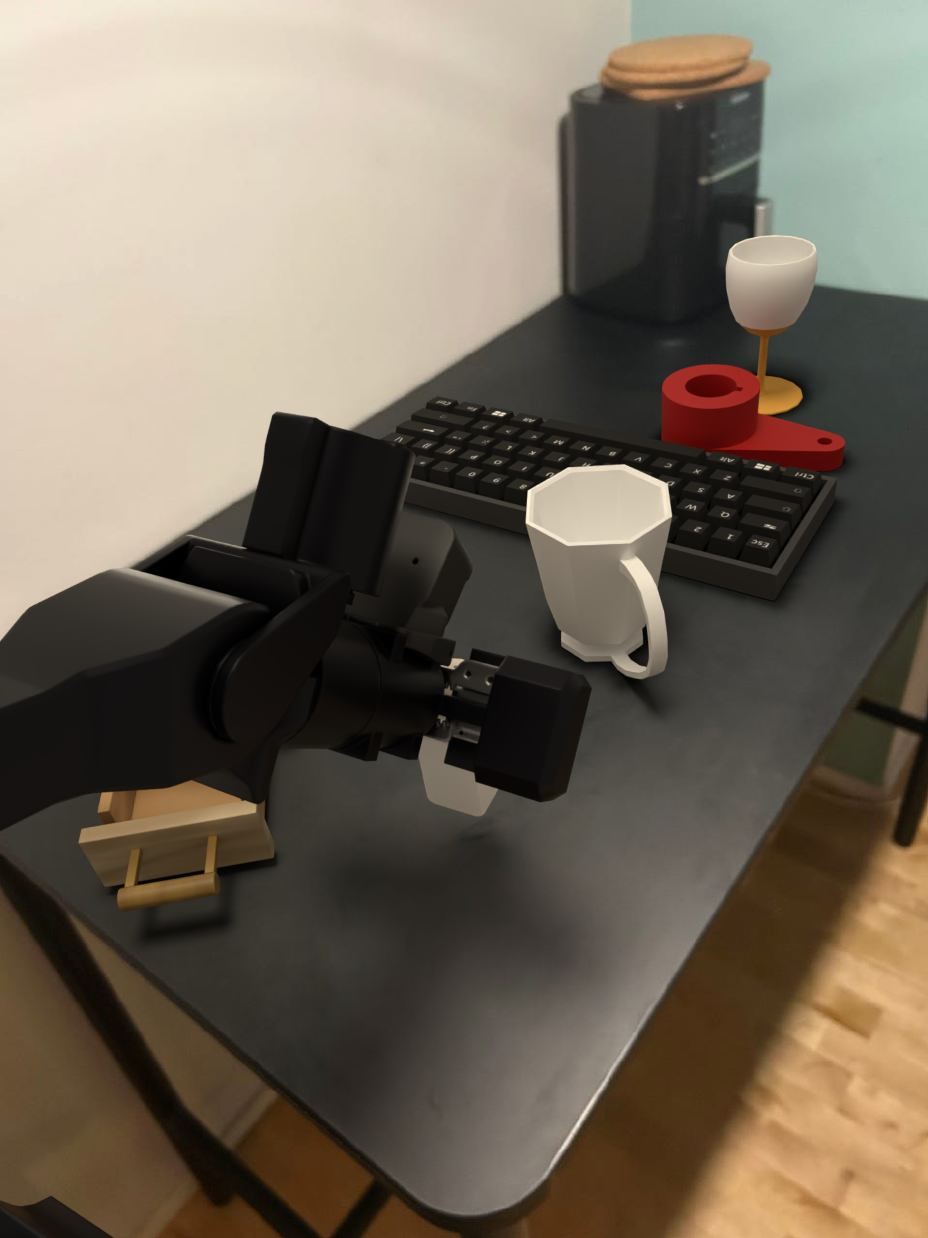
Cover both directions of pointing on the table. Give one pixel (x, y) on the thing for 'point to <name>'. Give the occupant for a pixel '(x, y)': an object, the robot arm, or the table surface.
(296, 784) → the table surface
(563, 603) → the cup
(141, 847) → the drawer
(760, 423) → the lever
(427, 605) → the robot arm
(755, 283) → the cup
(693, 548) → the computer keyboard
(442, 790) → the pepper shaker
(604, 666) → the table surface
